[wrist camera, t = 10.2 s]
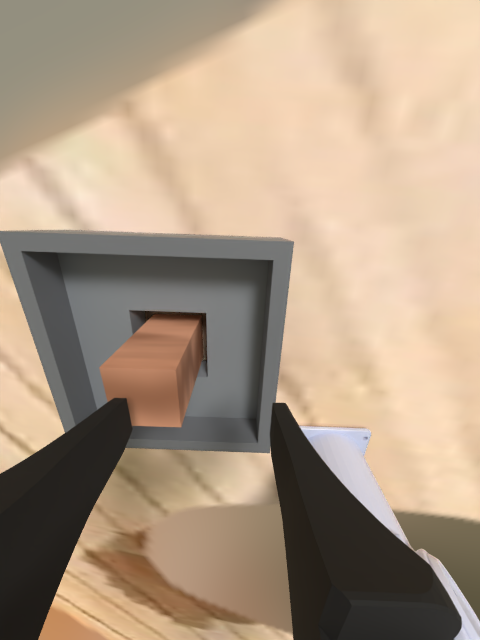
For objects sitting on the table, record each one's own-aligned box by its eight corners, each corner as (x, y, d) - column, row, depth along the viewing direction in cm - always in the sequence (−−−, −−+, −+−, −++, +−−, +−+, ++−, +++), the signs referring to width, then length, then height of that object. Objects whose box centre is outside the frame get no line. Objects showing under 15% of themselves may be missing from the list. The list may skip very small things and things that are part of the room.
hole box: (264, 407, 23) (269, 453, 18) (104, 401, 23) (69, 445, 18) (280, 237, 17) (293, 241, 12) (64, 229, 17) (-4, 230, 12)
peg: (203, 356, 21) (181, 427, 13) (159, 354, 21) (113, 425, 13) (201, 315, 19) (175, 369, 12) (154, 313, 19) (99, 367, 12)
